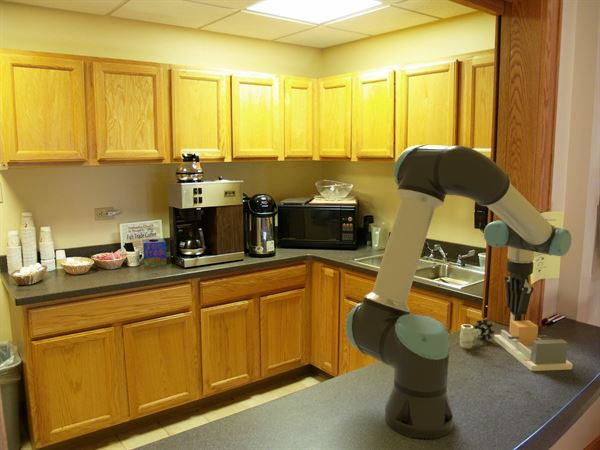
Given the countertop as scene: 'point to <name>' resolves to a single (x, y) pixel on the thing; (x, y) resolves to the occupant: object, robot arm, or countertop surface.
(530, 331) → the orange block
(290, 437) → the countertop surface
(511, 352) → the cream and grey fixture
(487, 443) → the countertop surface
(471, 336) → the valve
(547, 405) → the countertop surface
